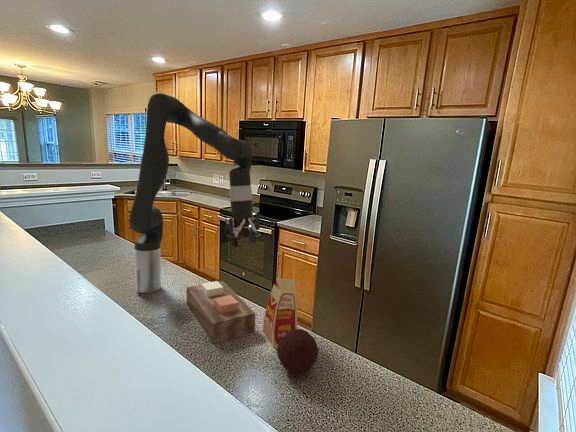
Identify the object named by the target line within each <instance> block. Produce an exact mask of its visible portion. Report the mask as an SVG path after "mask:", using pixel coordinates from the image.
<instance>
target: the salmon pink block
mask: <svg viewBox="0 0 576 432" xmlns="http://www.w3.org/2000/svg"><path fill="white" fill-rule="evenodd" d="M214 308H215V309H216V310H217V312H218V313H219V314H224V313H228V312H232V311H237V310H238V302H237V301H236V300H235V299H234V298H233V296H232V295H229V296H224V297H219V298H214Z"/></svg>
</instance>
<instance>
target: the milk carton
mask: <svg viewBox="0 0 576 432" xmlns="http://www.w3.org/2000/svg"><path fill="white" fill-rule="evenodd" d="M275 279H276V282H274V283H273V285H272V287H271V288H272V289H271V290H270V294H269V297H268V300H267V304H266V309H265V312H264V317H263V323H262V324H263V326H262V333H263V335H264V337H265V339H266V340H267V342H268V343H269V344H270V346H271V347H272V349H274V348H276V349H277V347H278V344H279V342H280V341H281V340H282V338H283V337H284V336H285V335H286V334H287V333H289V332H290V331H291V330H294V329H298V305H297V304H298V303H297V292H296V286H295V282H297V280H296V279H293V278H292V279H284V278H279V277H278V278H275Z"/></svg>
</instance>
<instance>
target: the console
mask: <svg viewBox="0 0 576 432" xmlns="http://www.w3.org/2000/svg"><path fill="white" fill-rule="evenodd" d="M218 282H219V283H220V284H221V285H222V286H223V294H221V295H216V296H211V297H205V295H204V294H203V293H202V292H201V284H198V285H194V286H193V285H192V286H187V287H186V305H187V307H188V309H189V310H190V311H191V313H192V314H193V316H194V317H195V319H196V320H197V322H198V324H199V325H200V327H201V329H202V330H203V331H204V333H205V334H206V336H207V338H208V339H209V341H210V342H211V344H215V343H219V342H222V341H227V340H230V339H234V338H237V337H241V336H245V335H248V334H252V333H255V331H256V328H255V327H256V315H257V313H256V312H255V311H254V310H253V309H252V308H251V307H250V306H249V305H248V304H247V303H246V302H245V301H244V300H243V299H241V297H240V296H239V295H238V294H237V293H235V291H234V290H233V289H232V288H231V287H230V286H229V285H228V284H227V283H225V282H224V281H223V280H222V281H218ZM229 295H232V296H233V298H234V299H235V300H236V301H237V302H238V310H237V311H232V312H228V313H224V314H219V313H218V312H217V310H216V309H215V308H214V298H219V297H224V296H229Z"/></svg>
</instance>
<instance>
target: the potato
mask: <svg viewBox="0 0 576 432" xmlns="http://www.w3.org/2000/svg"><path fill="white" fill-rule="evenodd" d="M276 354H277V357H278V360H279V363H280V364H281V365H282V368H283V369H285V371H286V372H287V373H288V375H291V376H293V377H297V378H299V377H302V376H304V375H306V374H308V372H309V371H310V370H312V368H313V367H314V366H315V363H316V362H317V360H318V357H319V347H318V343H317V341H316V339H315V338H314V337H313V336H312V335H311V333H309V332H308V331H307V330H304V329H302V328H297V329H294V330H291V331H290V332H289V333H287V334H286V335H285V336H284V337H283V338H282V340H281V341H280V342H279V344H278V347H276Z"/></svg>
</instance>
